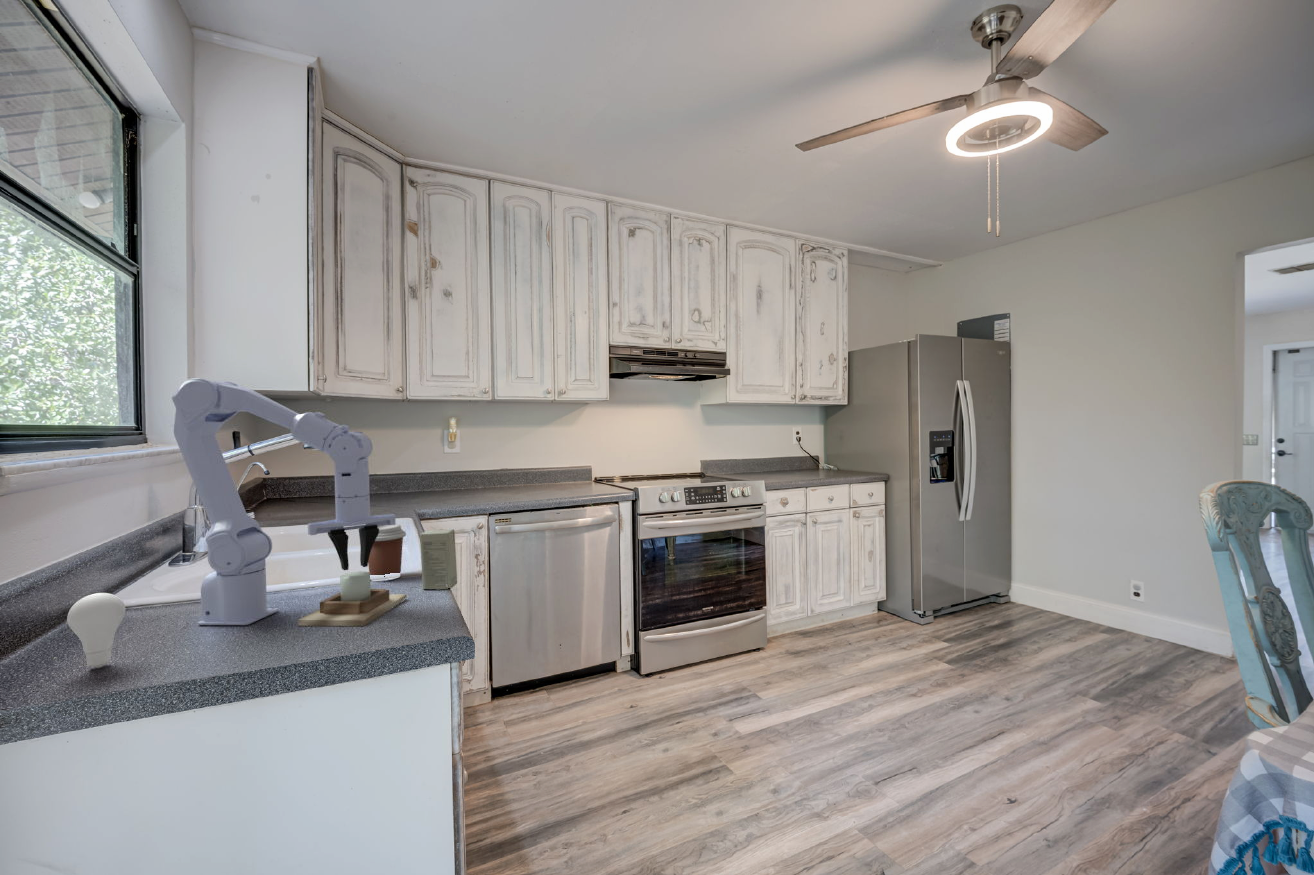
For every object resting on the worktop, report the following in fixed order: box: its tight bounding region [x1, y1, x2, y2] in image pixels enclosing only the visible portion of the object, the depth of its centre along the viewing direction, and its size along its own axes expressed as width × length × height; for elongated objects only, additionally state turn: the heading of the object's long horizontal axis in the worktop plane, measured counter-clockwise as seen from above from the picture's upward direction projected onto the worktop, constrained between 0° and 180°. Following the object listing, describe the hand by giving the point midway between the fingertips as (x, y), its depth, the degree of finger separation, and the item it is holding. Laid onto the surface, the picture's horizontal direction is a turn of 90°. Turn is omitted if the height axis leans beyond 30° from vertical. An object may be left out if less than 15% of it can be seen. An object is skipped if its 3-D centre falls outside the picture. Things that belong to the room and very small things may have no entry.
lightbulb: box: [66, 592, 126, 669], centre depth 83 cm, size 6×6×11 cm
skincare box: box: [419, 528, 458, 590], centre depth 122 cm, size 6×4×12 cm
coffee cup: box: [367, 523, 407, 577], centre depth 130 cm, size 9×9×12 cm
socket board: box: [297, 588, 407, 627], centre depth 107 cm, size 12×15×3 cm
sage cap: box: [339, 571, 372, 601], centre depth 107 cm, size 5×5×6 cm
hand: (354, 567), depth 107 cm, fingers open, 3 cm apart
